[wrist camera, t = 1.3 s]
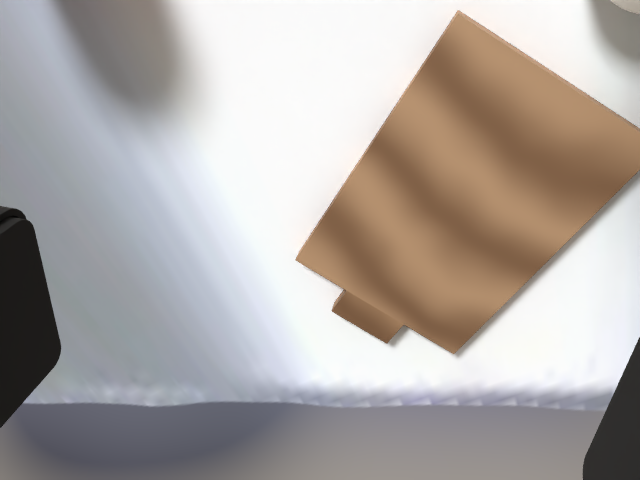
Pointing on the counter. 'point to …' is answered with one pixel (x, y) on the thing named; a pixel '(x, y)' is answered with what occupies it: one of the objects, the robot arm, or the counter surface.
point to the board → (467, 190)
